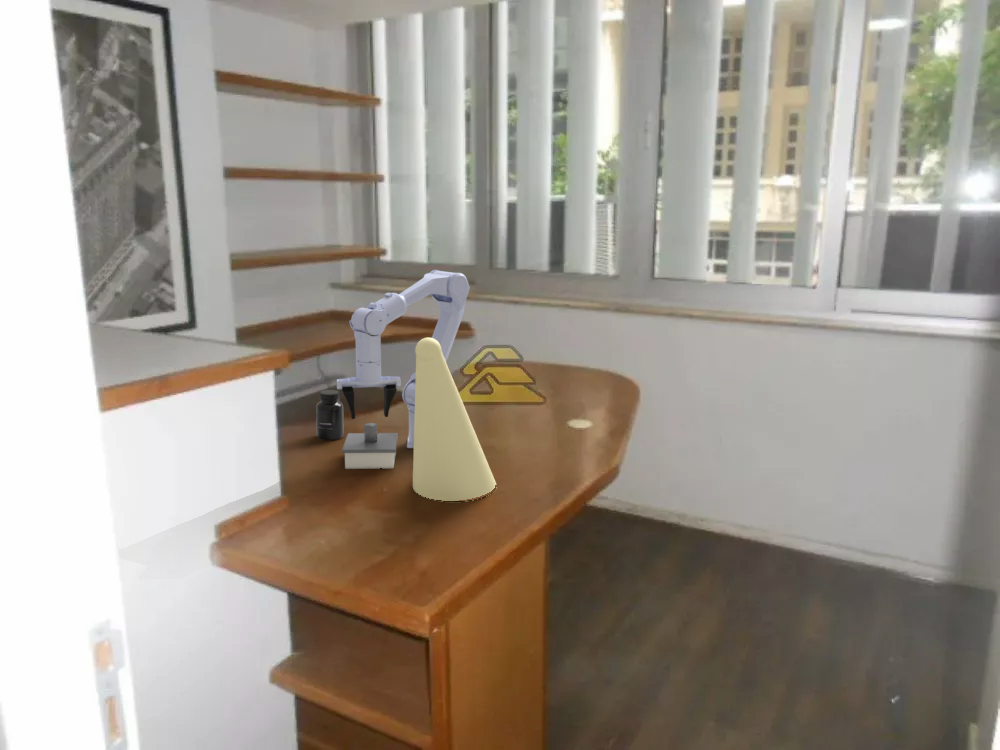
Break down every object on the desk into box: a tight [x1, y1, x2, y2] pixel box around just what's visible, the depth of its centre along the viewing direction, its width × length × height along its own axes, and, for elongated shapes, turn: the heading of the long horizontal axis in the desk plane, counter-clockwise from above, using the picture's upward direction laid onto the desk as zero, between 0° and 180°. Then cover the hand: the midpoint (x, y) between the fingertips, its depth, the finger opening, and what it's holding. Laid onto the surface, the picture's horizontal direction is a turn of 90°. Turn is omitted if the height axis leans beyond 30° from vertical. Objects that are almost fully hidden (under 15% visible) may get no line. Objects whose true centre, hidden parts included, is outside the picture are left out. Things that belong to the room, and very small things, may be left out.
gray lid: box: [341, 422, 399, 454], centre depth 177 cm, size 12×12×5 cm
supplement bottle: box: [315, 389, 345, 441], centre depth 194 cm, size 7×7×12 cm
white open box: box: [344, 451, 397, 470], centre depth 178 cm, size 11×11×4 cm
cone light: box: [412, 337, 497, 502], centre depth 157 cm, size 25×18×35 cm
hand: (369, 416), depth 177 cm, fingers open, 7 cm apart
